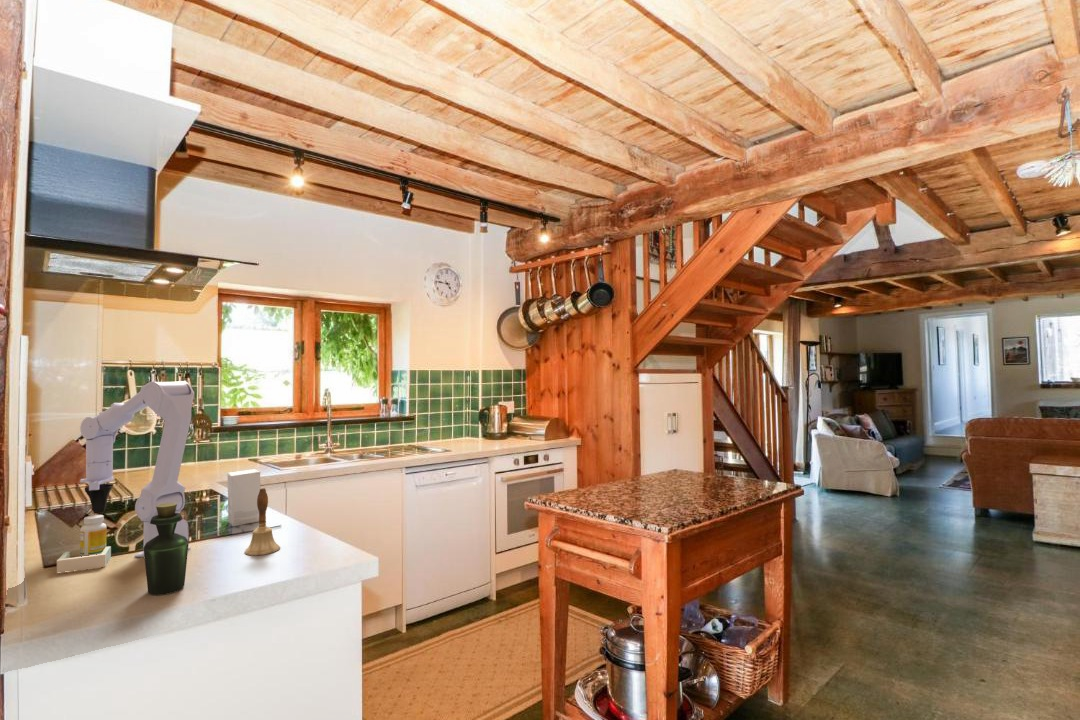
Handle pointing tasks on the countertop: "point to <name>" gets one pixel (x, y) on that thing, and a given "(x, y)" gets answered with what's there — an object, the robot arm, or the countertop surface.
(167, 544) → the potion bottle
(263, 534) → the hand bell
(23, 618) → the countertop surface
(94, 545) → the supplement bottle
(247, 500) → the skincare box
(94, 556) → the tray
